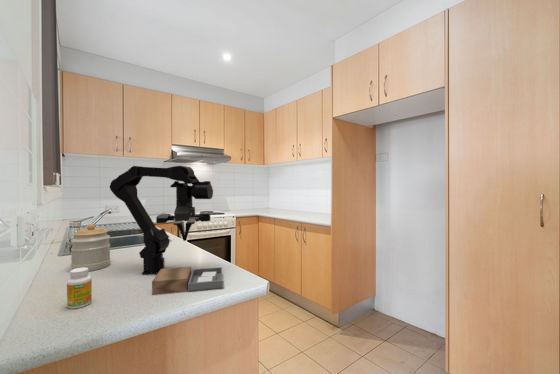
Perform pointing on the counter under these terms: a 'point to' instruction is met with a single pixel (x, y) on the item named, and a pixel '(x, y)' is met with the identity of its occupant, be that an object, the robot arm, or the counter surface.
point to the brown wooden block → (171, 280)
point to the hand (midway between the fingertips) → (184, 240)
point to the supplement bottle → (79, 288)
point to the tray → (209, 285)
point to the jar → (90, 248)
